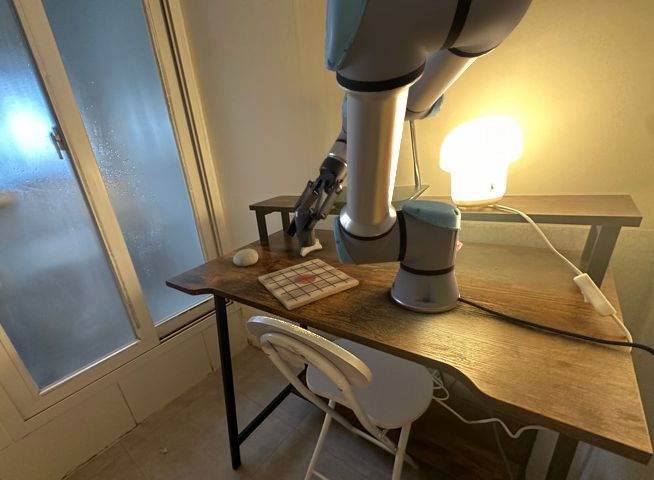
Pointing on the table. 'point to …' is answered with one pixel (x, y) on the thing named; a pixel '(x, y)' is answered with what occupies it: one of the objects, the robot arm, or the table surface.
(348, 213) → the robot arm
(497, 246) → the table surface
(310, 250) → the ceramic fragment
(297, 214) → the dark grey rounded cylinder
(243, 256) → the sea urchin shell
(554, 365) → the table surface
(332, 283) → the game board
